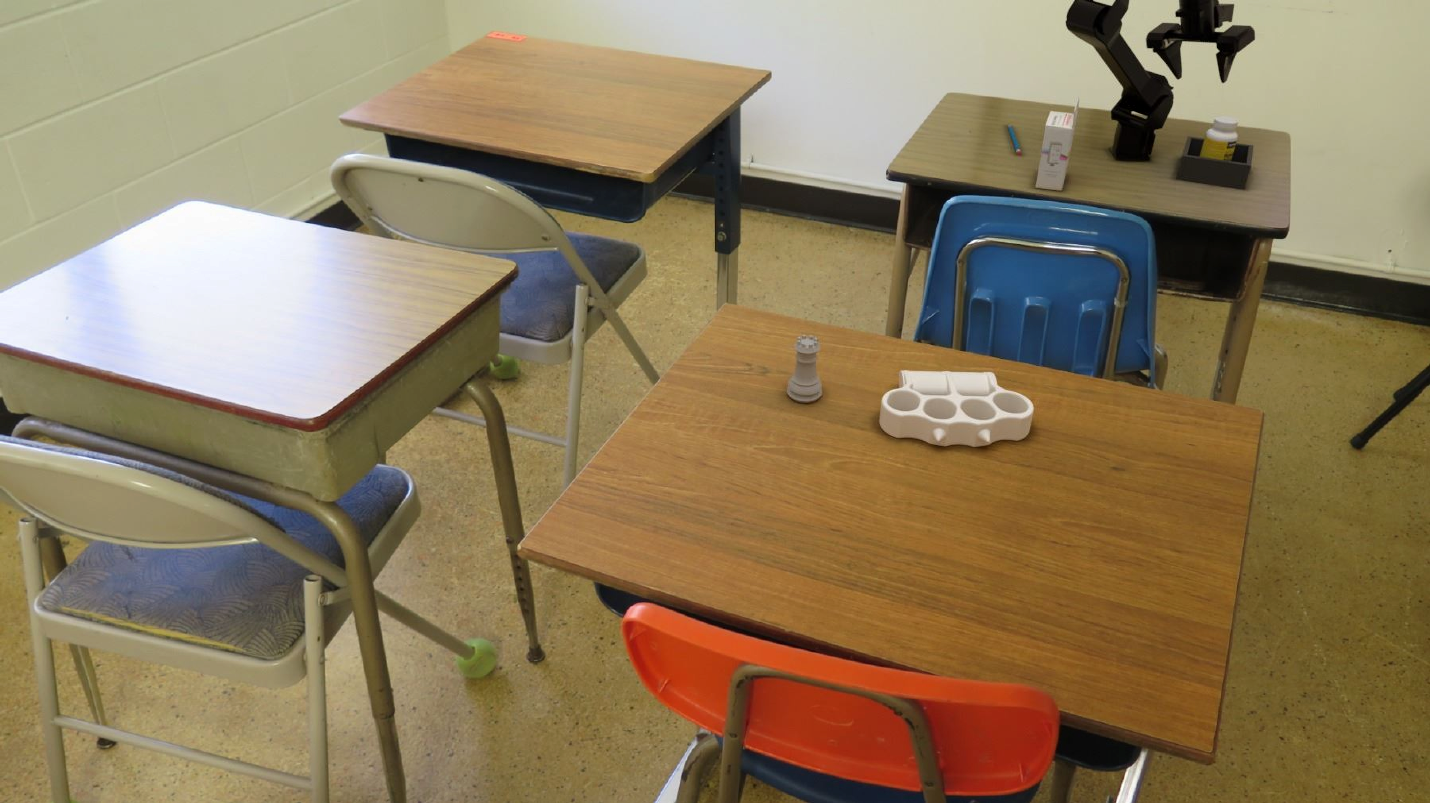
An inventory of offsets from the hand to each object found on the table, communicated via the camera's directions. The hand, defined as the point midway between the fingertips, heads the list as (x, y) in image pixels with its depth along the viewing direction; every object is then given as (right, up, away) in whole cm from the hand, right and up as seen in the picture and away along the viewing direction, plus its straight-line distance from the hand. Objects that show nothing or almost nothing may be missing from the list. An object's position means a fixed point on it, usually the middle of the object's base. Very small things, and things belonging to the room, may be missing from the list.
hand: (1201, 80), depth 201 cm
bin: (0, -19, -4) cm, 19 cm away
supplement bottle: (0, -18, -4) cm, 19 cm away
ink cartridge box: (-31, -21, -8) cm, 39 cm away
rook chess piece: (-81, -61, -68) cm, 122 cm away
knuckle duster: (-64, -63, -72) cm, 115 cm away
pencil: (-33, -9, +11) cm, 36 cm away
